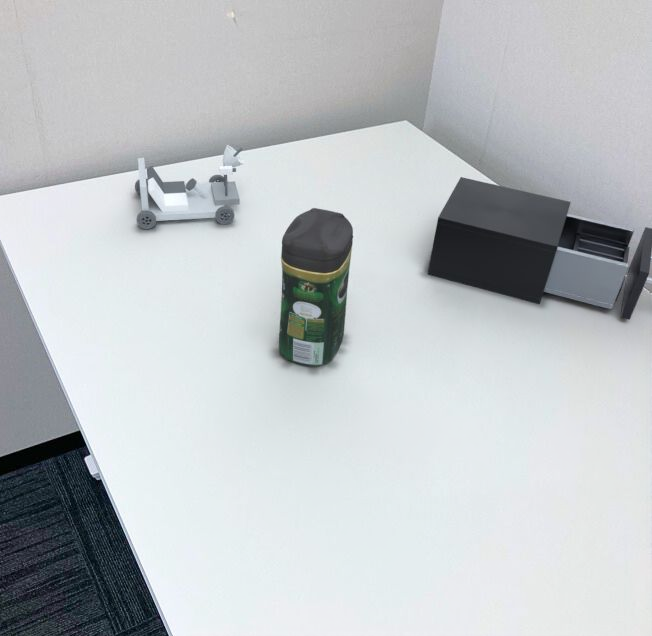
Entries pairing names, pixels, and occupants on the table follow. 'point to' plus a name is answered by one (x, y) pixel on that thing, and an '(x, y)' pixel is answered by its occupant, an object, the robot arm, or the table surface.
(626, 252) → the rack
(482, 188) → the box
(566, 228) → the grey drawer
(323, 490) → the table surface
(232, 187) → the toy car
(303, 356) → the coffee jar
